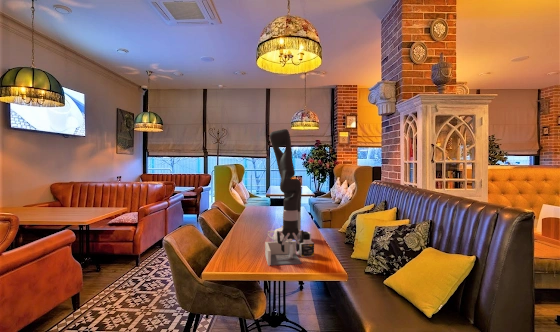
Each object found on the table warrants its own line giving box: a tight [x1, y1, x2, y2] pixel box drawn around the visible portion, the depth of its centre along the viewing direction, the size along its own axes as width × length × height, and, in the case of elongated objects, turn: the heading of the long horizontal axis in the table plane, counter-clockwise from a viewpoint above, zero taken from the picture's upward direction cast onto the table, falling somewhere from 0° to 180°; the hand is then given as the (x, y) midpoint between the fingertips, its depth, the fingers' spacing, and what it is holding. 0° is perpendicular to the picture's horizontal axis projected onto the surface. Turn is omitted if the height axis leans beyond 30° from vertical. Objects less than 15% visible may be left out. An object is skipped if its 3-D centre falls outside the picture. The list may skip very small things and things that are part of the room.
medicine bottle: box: [296, 230, 315, 258], centre depth 156 cm, size 7×7×12 cm
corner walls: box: [264, 240, 297, 267], centre depth 149 cm, size 15×16×7 cm
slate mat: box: [271, 253, 302, 266], centre depth 148 cm, size 14×15×1 cm
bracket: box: [276, 241, 293, 261], centre depth 148 cm, size 8×5×8 cm, turn 98°
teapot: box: [266, 225, 300, 242], centre depth 179 cm, size 20×12×10 cm, turn 89°
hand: (290, 251), depth 148 cm, fingers open, 6 cm apart
